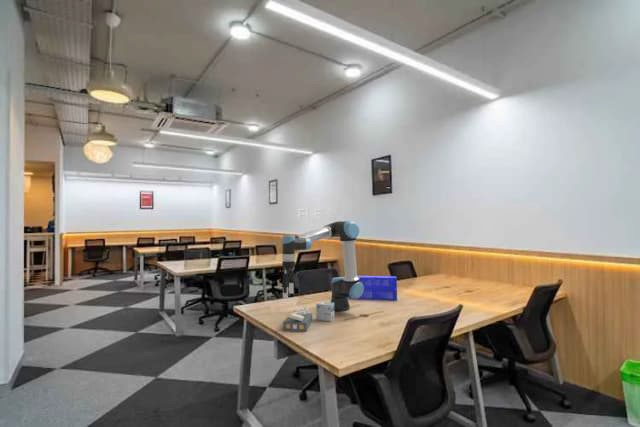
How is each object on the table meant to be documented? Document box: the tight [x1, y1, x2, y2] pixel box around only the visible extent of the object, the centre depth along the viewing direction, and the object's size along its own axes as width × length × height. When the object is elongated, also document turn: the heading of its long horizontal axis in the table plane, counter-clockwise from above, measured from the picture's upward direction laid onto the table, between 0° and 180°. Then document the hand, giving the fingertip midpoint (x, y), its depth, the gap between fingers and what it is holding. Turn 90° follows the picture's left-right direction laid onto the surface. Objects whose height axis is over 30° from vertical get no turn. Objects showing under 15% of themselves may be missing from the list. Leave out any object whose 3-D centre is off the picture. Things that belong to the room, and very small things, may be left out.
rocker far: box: [292, 306, 309, 313], centre depth 210 cm, size 9×4×2 cm, turn 82°
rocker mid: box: [292, 310, 307, 315], centre depth 203 cm, size 9×4×2 cm, turn 82°
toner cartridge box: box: [348, 275, 398, 301], centre depth 273 cm, size 39×8×18 cm, turn 80°
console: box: [282, 312, 313, 333], centre depth 203 cm, size 14×20×6 cm
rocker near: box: [287, 312, 304, 321], centre depth 197 cm, size 9×4×2 cm, turn 82°
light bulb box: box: [315, 301, 335, 322], centre depth 216 cm, size 11×7×11 cm, turn 71°
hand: (288, 295), depth 199 cm, fingers open, 13 cm apart
